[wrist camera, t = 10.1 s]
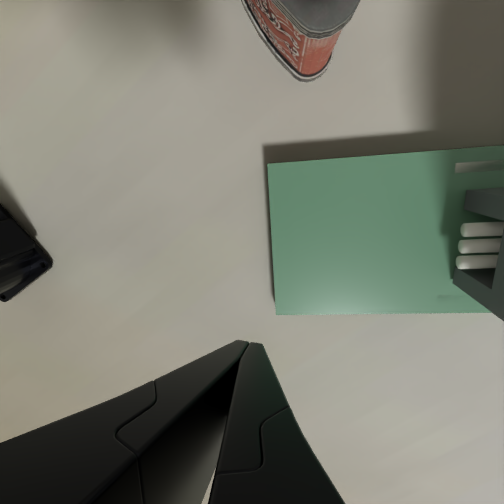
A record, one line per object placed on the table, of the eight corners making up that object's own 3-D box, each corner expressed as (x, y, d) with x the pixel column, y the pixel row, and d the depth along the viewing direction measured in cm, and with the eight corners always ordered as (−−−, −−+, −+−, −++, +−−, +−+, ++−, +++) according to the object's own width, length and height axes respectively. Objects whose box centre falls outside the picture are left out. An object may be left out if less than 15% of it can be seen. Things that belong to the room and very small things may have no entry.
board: (276, 307, 23) (275, 315, 22) (268, 163, 19) (267, 163, 18) (542, 303, 20) (557, 311, 19) (585, 138, 17) (606, 137, 16)
